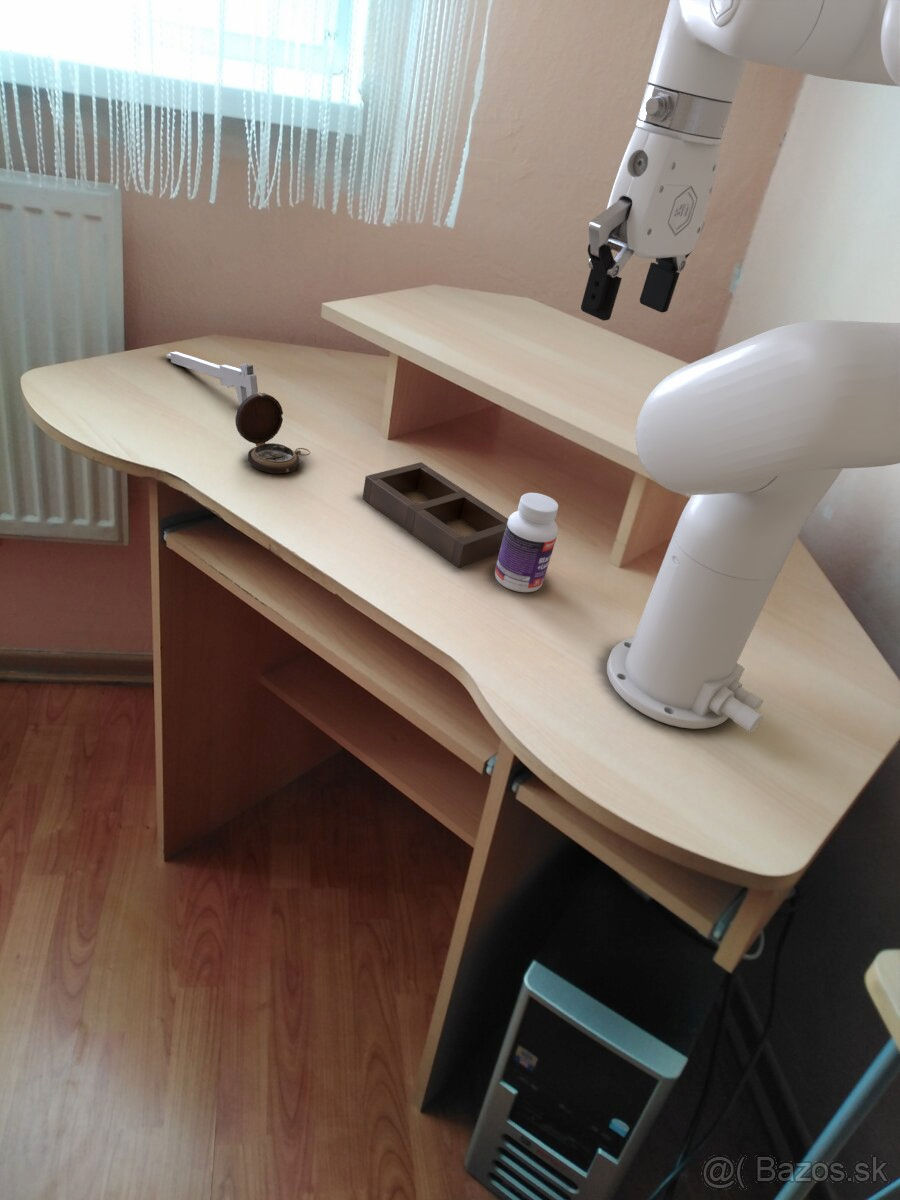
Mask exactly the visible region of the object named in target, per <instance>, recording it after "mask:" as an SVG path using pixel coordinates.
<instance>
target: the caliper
mask: <svg viewBox="0 0 900 1200" xmlns="http://www.w3.org/2000/svg"><path fill="white" fill-rule="evenodd" d="M165 358H167V359H170V362H171V363H172V364H175V365H178V366H180V367H184V368H187V369H190V370H193V371H196V372H199V373H202V374H205V375H207V376H210V377H213V378H215V379H219V380H220V385H221V386H223V387H224V386H225V387H227V388H234V387H235V391H236V395H237V400H238V403H239V406H240V405H241V403H242V402H243V401H244V400H245V399H246V398H247V397H249V396H251V395H253V394H257V393H259V387H258V380H257V379H258V378H257V377H258V376H257V374H255V372H254V364H250V365H249V364H248V363H247V362H245V363H241V364H240V368H238V367H235V366H232V365H229V364H216V363H213V362H210V361H207V360H204V359H201V358H198V357H195V356H192V355H189V354H185V353H182V352H180V351H170V352H169V353H168V354H165Z"/></svg>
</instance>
